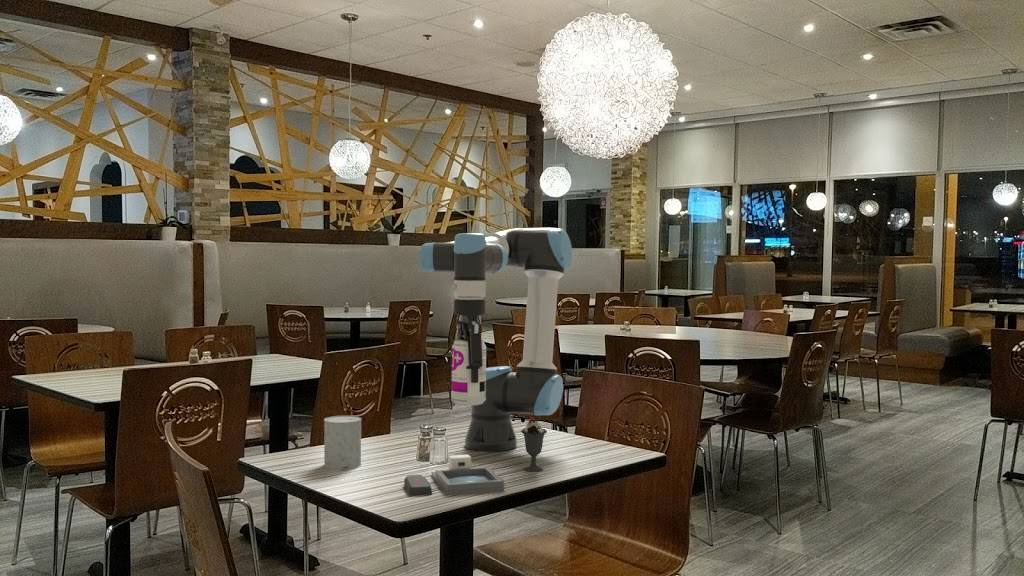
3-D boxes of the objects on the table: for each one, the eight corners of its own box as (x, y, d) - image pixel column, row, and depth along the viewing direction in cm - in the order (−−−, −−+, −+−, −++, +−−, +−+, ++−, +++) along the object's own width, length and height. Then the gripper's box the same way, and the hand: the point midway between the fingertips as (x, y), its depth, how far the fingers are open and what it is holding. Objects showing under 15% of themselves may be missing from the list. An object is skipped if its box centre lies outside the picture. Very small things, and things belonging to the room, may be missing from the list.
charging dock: (483, 472, 207) (484, 452, 207) (504, 491, 190) (504, 470, 190) (431, 476, 203) (431, 456, 203) (447, 496, 186) (447, 474, 186)
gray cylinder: (352, 471, 207) (352, 423, 207) (317, 469, 209) (317, 421, 209) (366, 462, 217) (366, 416, 216) (333, 460, 219) (333, 414, 218)
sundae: (532, 464, 216) (533, 408, 215) (551, 469, 211) (552, 412, 210) (515, 469, 211) (515, 411, 211) (533, 474, 206) (534, 415, 206)
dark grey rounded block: (409, 498, 185) (409, 486, 185) (402, 484, 197) (402, 473, 197) (432, 497, 187) (432, 485, 187) (423, 483, 198) (423, 472, 198)
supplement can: (458, 406, 189) (458, 342, 188) (447, 401, 197) (447, 339, 196) (490, 404, 192) (491, 341, 192) (478, 399, 200) (478, 338, 199)
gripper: (444, 296, 202) (444, 387, 203) (464, 300, 182) (463, 401, 183) (473, 296, 205) (473, 386, 205) (496, 300, 185) (496, 400, 185)
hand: (468, 393), depth 194 cm, fingers closed on supplement can, 8 cm apart
